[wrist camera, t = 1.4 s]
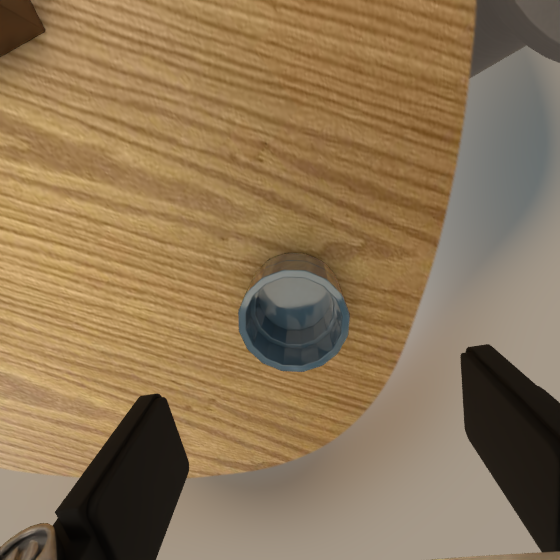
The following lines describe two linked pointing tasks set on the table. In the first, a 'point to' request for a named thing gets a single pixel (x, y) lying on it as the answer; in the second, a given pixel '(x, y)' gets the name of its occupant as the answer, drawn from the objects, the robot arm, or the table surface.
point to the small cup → (294, 313)
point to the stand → (17, 24)
